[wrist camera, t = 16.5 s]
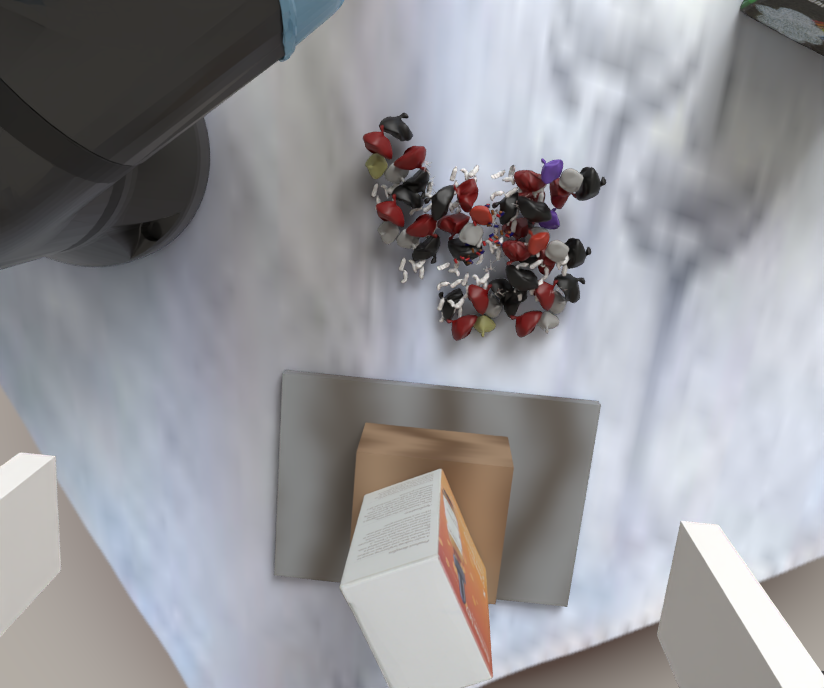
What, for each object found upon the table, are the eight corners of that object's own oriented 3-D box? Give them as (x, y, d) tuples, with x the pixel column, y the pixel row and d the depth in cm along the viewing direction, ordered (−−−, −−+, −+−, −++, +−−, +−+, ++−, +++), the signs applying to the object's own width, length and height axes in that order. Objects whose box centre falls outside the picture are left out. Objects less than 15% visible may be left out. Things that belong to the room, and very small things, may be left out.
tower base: (276, 569, 55) (256, 617, 50) (285, 370, 51) (264, 397, 45) (565, 600, 55) (578, 651, 49) (598, 401, 50) (616, 433, 45)
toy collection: (611, 118, 45) (616, 122, 40) (586, 337, 49) (588, 361, 45) (374, 110, 47) (355, 113, 43) (373, 318, 52) (356, 340, 48)
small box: (487, 568, 48) (496, 683, 38) (408, 594, 49) (397, 712, 39) (442, 464, 46) (440, 554, 36) (361, 492, 47) (336, 588, 37)
